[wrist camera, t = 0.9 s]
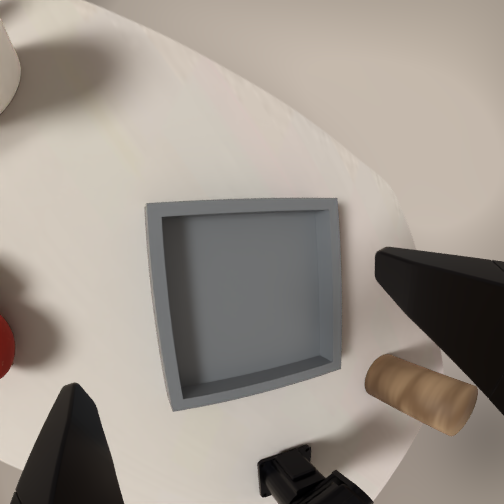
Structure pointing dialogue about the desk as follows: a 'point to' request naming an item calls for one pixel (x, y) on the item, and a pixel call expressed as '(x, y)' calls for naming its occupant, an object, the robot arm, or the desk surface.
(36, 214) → the desk surface
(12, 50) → the cup
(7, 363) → the kendama
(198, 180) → the desk surface
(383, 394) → the wooden cylinder
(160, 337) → the tray
